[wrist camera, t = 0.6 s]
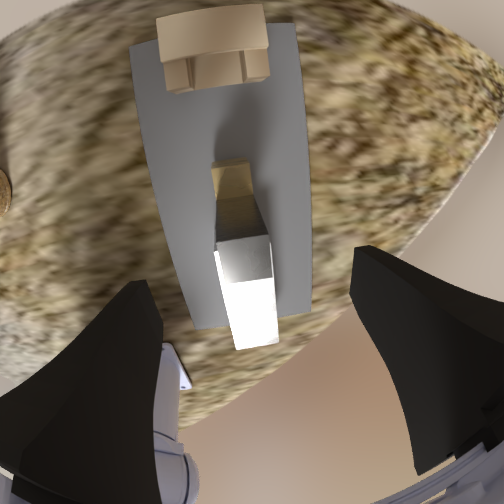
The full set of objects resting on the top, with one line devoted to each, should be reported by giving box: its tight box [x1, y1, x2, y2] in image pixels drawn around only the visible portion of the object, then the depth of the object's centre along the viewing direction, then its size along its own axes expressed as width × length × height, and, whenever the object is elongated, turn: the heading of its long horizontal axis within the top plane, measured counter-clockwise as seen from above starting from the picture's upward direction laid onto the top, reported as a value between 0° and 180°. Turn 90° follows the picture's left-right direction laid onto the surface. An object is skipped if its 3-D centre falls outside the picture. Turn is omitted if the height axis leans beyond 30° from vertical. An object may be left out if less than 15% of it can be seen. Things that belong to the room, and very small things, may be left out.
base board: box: [129, 23, 312, 330], centre depth 18 cm, size 10×22×1 cm, turn 7°
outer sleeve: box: [214, 228, 279, 349], centre depth 19 cm, size 3×8×3 cm, turn 7°
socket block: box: [156, 4, 270, 94], centre depth 11 cm, size 5×4×4 cm
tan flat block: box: [211, 157, 273, 285], centre depth 16 cm, size 2×12×7 cm, turn 7°
